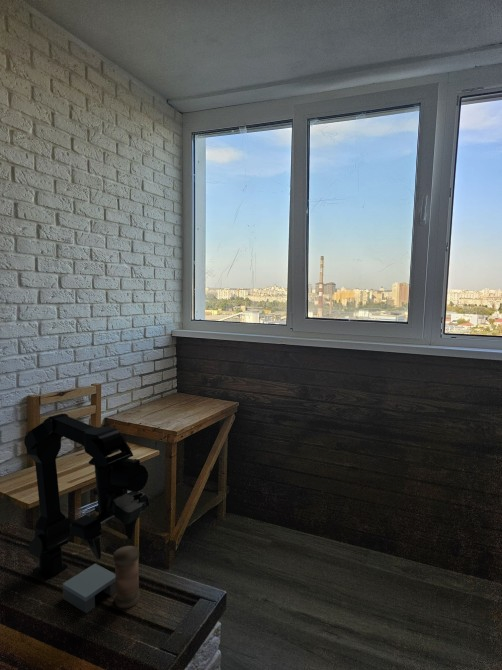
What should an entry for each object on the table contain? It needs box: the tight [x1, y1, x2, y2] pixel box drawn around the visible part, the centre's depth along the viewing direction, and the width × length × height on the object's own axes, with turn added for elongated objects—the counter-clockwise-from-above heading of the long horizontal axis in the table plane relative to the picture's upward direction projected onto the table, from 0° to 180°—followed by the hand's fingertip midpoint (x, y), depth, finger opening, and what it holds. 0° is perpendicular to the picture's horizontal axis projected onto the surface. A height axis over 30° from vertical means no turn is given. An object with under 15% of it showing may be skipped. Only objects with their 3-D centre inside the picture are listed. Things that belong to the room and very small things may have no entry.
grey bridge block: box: [62, 563, 117, 614], centre depth 107 cm, size 9×9×4 cm
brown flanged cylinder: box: [112, 545, 141, 609], centre depth 105 cm, size 6×6×12 cm
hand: (114, 548), depth 101 cm, fingers open, 9 cm apart
